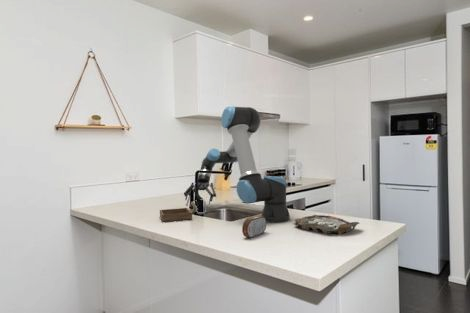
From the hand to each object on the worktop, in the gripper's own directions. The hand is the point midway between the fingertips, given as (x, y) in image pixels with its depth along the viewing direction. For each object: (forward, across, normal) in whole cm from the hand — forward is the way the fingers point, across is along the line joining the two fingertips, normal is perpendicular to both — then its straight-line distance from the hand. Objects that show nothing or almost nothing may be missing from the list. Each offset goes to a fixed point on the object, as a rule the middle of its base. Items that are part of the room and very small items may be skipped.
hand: (197, 205), depth 198 cm
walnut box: (+15, +7, +8) cm, 18 cm away
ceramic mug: (+3, -1, -4) cm, 5 cm away
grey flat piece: (+24, -71, +16) cm, 77 cm away
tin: (+36, -42, +29) cm, 62 cm away
